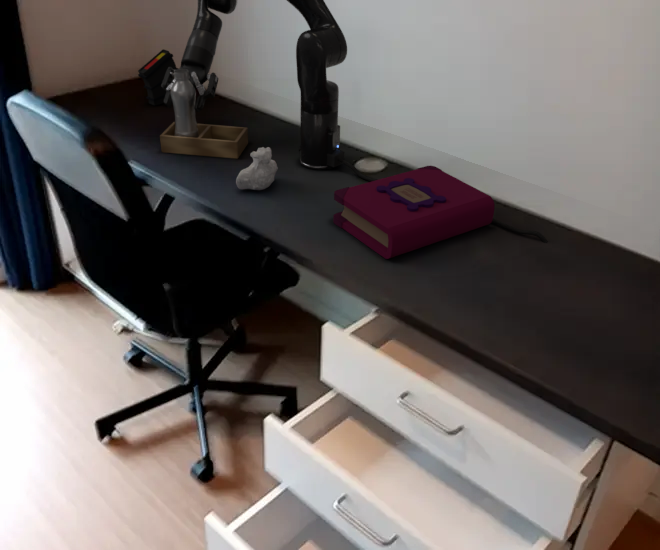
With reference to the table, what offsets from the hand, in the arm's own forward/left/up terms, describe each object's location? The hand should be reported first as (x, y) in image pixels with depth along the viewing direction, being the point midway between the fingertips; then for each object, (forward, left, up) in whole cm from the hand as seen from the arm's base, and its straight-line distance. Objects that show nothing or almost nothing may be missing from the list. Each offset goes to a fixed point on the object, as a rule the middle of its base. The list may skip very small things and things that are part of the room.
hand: (181, 108), depth 183 cm
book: (-66, +20, -11) cm, 70 cm away
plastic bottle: (0, -1, -11) cm, 11 cm away
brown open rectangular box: (-5, -2, -11) cm, 12 cm away
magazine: (+24, -30, -11) cm, 40 cm away
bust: (-28, +15, -11) cm, 33 cm away
